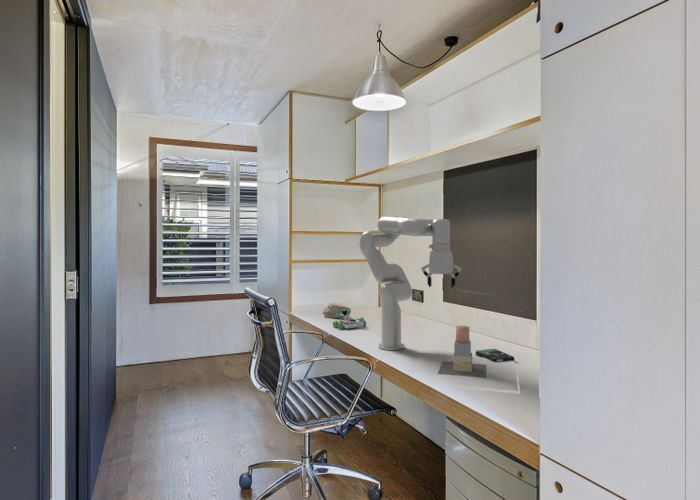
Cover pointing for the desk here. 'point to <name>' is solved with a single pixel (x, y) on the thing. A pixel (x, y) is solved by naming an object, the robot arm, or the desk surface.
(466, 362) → the pale oak block
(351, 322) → the robot kit
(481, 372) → the charcoal mat
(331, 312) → the decorative stone
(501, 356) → the disk drive
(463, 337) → the brown egg shape
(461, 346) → the slate grey block
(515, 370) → the desk surface
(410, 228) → the robot arm
